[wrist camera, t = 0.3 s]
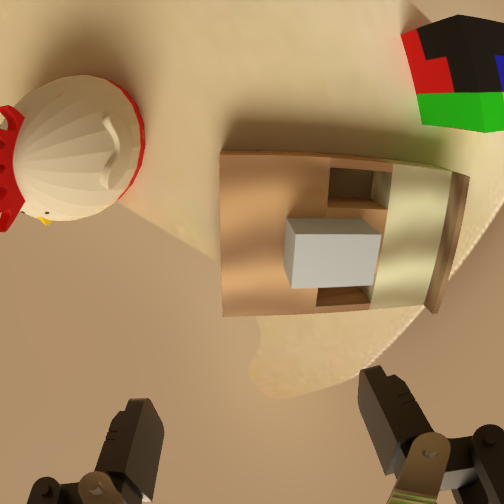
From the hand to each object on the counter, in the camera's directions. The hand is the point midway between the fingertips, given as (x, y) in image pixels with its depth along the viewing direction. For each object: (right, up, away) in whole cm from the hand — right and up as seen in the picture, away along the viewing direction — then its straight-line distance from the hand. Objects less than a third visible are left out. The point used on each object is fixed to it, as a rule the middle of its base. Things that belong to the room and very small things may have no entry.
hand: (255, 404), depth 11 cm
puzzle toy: (+21, +25, +15) cm, 36 cm away
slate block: (+6, +6, +17) cm, 19 cm away
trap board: (+8, +8, +21) cm, 24 cm away
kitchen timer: (-17, +16, +16) cm, 28 cm away
